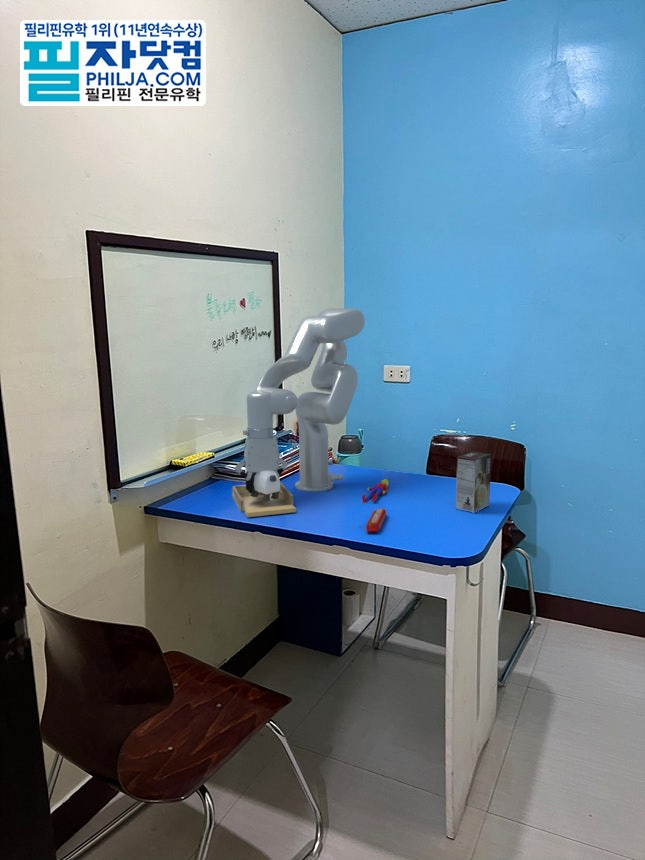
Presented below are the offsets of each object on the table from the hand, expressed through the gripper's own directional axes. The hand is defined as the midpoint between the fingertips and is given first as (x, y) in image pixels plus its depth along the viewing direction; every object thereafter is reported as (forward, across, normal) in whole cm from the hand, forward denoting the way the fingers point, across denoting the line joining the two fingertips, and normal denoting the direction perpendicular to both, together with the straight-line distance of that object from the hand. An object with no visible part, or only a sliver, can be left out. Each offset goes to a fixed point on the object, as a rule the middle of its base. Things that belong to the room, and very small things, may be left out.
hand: (262, 490), depth 191 cm
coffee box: (+5, +58, -24) cm, 63 cm away
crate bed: (+4, 0, 0) cm, 4 cm away
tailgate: (+4, 0, -9) cm, 10 cm away
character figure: (+5, +37, -2) cm, 37 cm away
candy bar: (+5, +26, -28) cm, 38 cm away
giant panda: (+2, 0, 0) cm, 2 cm away
